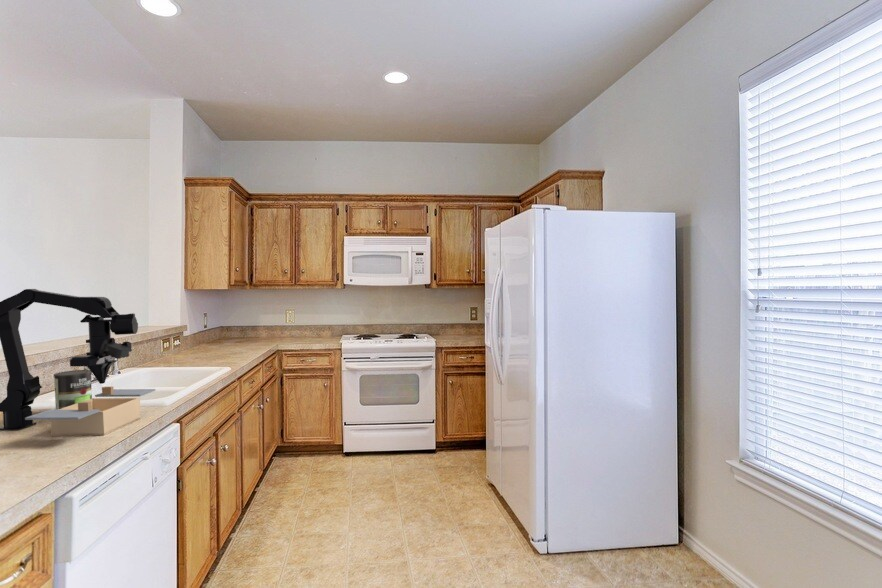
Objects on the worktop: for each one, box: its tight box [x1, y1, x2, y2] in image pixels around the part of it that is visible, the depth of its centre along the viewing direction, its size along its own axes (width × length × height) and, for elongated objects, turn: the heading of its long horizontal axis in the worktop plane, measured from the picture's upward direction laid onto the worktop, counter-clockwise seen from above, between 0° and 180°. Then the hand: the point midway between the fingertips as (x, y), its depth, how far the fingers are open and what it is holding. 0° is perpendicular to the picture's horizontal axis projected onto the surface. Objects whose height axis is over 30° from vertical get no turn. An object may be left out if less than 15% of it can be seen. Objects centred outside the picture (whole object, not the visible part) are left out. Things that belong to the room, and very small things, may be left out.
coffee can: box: [53, 369, 93, 410], centre depth 166 cm, size 10×10×14 cm
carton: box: [50, 397, 142, 437], centre depth 149 cm, size 16×16×7 cm
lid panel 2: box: [94, 386, 156, 398], centre depth 161 cm, size 15×8×3 cm, turn 87°
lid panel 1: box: [25, 402, 100, 421], centre depth 136 cm, size 15×8×3 cm, turn 87°
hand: (102, 383), depth 156 cm, fingers closed
